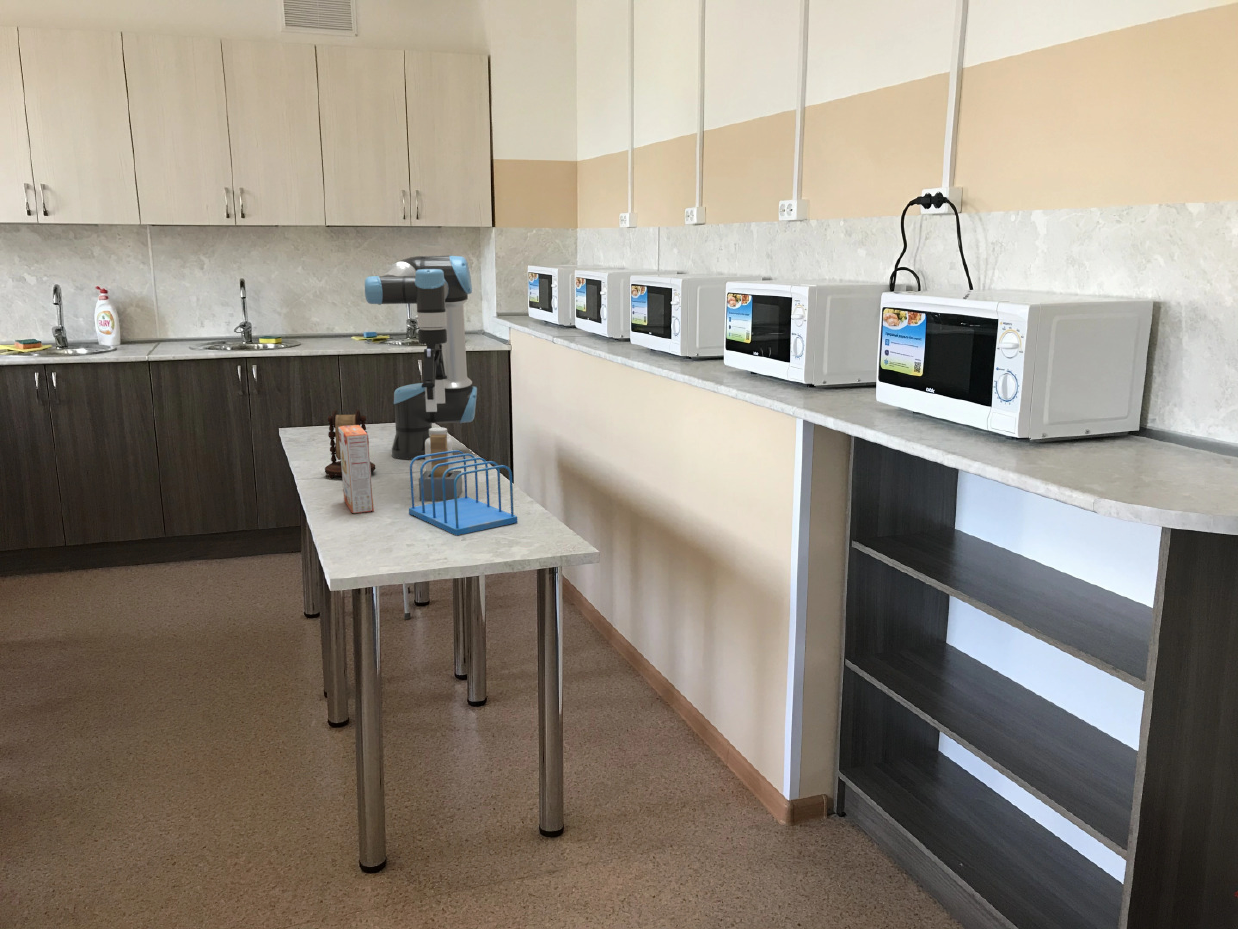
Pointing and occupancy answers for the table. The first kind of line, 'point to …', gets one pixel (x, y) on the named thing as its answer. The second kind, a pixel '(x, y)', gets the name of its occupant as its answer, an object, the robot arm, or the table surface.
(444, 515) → the file sorter
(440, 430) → the pill bottle
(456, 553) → the table surface
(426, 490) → the grey square sleeve
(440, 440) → the long wooden beam
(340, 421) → the scroll
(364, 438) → the cracker box
